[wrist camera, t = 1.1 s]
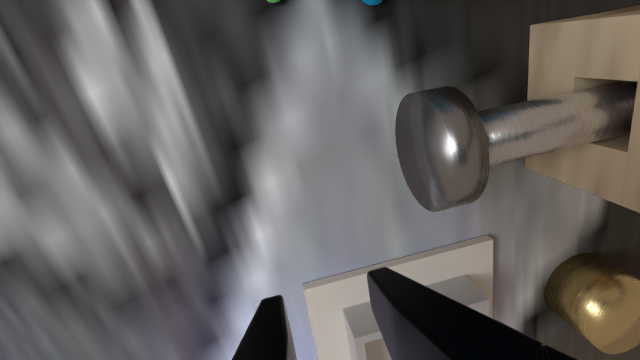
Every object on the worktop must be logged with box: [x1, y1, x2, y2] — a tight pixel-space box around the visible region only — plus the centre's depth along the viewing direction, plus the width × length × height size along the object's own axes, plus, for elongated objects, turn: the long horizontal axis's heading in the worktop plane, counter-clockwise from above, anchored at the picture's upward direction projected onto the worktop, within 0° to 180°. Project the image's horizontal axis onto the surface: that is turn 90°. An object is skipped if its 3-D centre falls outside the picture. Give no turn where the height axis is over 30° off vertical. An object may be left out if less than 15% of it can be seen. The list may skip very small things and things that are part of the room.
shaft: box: [395, 81, 638, 212], centre depth 16 cm, size 12×5×5 cm, turn 100°
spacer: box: [544, 253, 640, 354], centre depth 25 cm, size 5×5×4 cm
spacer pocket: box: [302, 235, 493, 360], centre depth 23 cm, size 12×12×3 cm
